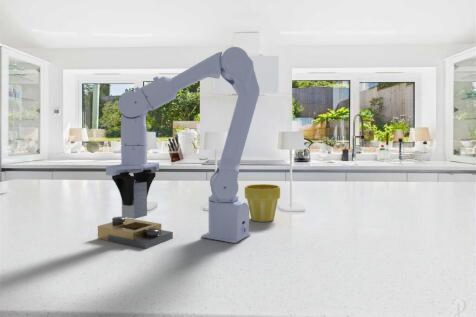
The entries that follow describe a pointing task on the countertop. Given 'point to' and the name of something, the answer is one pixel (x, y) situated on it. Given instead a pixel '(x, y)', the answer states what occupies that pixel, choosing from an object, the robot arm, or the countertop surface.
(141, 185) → the grey metal block
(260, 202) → the plant pot
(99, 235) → the brass plate with knob
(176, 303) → the countertop surface
